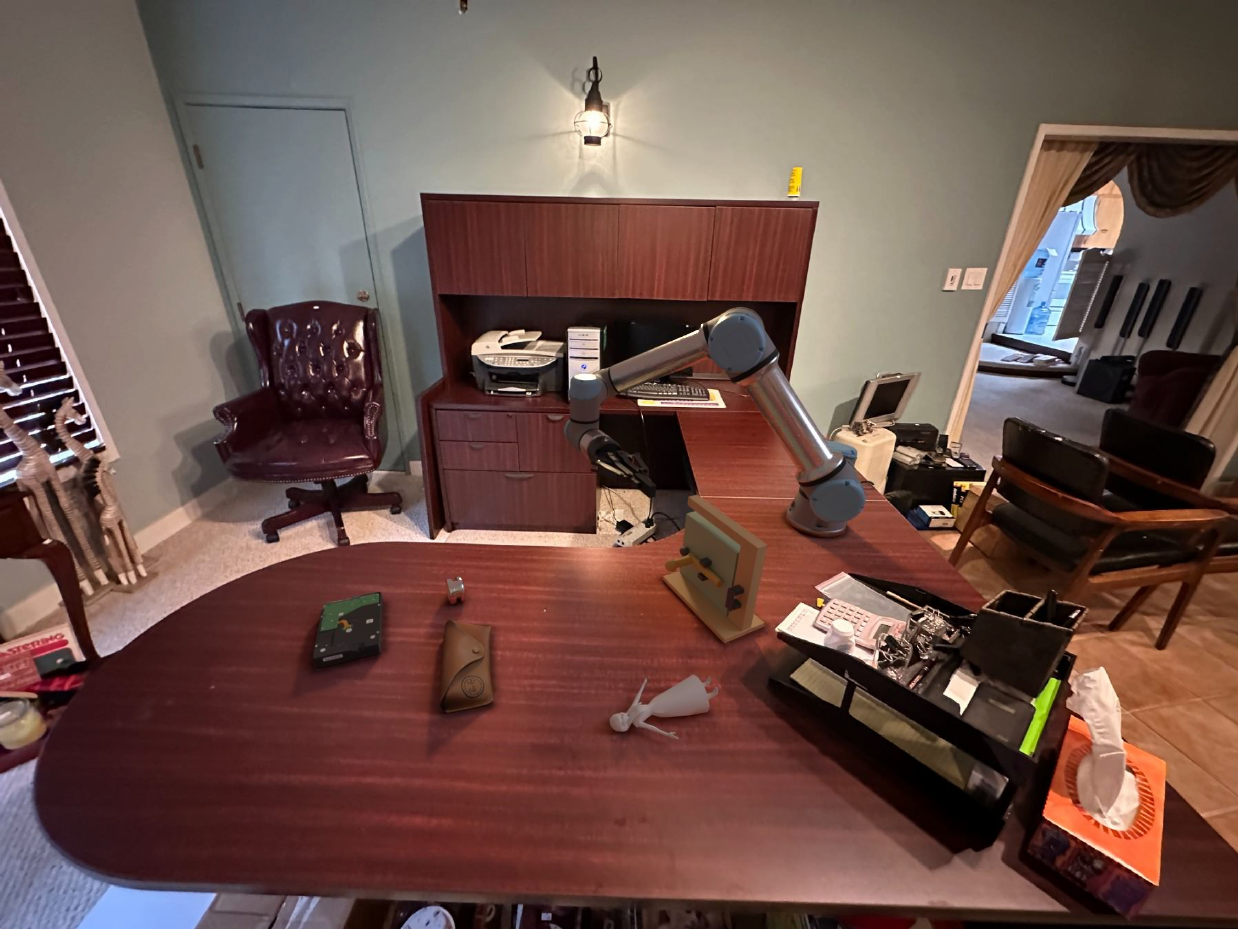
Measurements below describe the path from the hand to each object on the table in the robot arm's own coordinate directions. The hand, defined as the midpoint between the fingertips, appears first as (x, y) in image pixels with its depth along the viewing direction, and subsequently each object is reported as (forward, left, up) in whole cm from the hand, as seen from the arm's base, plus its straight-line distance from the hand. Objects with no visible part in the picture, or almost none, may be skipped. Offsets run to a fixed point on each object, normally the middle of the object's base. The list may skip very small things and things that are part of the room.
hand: (652, 491), depth 101 cm
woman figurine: (+16, +31, -21) cm, 41 cm away
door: (-8, +13, -21) cm, 26 cm away
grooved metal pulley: (+39, -10, -21) cm, 46 cm away
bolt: (-3, +12, -14) cm, 19 cm away
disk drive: (+58, -9, -21) cm, 62 cm away
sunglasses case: (+41, +8, -21) cm, 47 cm away
